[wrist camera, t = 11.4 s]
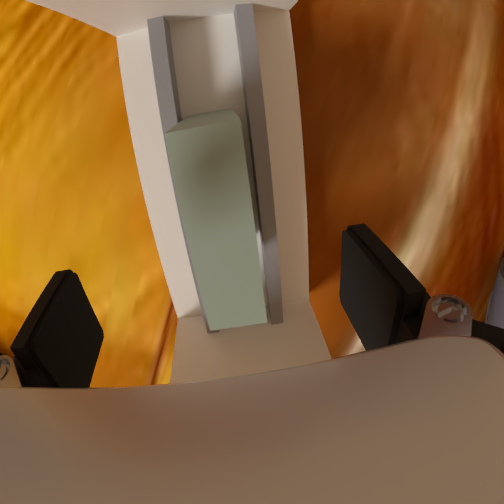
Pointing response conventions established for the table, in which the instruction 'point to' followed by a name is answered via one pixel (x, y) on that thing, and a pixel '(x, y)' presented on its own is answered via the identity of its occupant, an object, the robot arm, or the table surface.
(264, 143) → the cabinet base
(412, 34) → the table surface
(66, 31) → the table surface
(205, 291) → the door panel
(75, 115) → the table surface
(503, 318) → the bluetooth speaker
